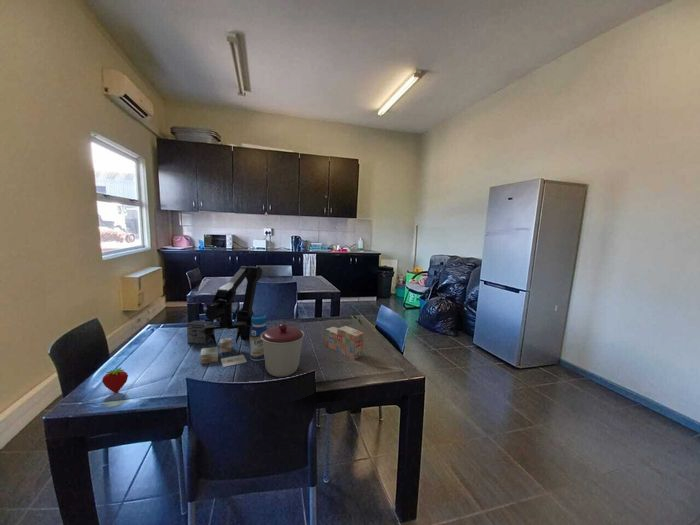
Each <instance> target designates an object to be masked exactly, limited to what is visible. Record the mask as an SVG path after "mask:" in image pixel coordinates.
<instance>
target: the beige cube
mask: <svg viewBox="0 0 700 525" xmlns="http://www.w3.org/2000/svg"><path fill="white" fill-rule="evenodd" d="M232 340H233V339H232V337H229V338H227V337H226V338H220V342H219V343H220V345H219V346H220V347H219V348H220V350H219V351H220V353H221V354H222V353H230V352H232V349H233V348H232V347H233V345H232V344H233V343H232Z"/></svg>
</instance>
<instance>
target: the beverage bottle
mask: <svg viewBox="0 0 700 525" xmlns="http://www.w3.org/2000/svg"><path fill="white" fill-rule="evenodd" d="M251 324H252V326H251V328H250V335H249V338H248V339H249V359H250V360H252V361H255V362H258V361H259V362H260V361H265V359H264V350H263V341H262V339H261V334H262V333H263V332H264V331H266V330H268V329H269V328H268V327H267V315H265V314H260V313H259V314H254V315H253V316H252V317H251Z"/></svg>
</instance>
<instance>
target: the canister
mask: <svg viewBox="0 0 700 525" xmlns="http://www.w3.org/2000/svg"><path fill="white" fill-rule="evenodd" d="M304 337H305V332H304V331H303V330H301V329H299V328H297V327H296V326H291V325H287V324H286V323H281V324H279V325H278V326H273V327H270V328H268V330H266V331H264V332H263V333H262V334H261V339H262V341H263V350H264V366H265V370H266V371H267V373H268V374H269V375H271V376H273V377H277V378H279V377H281V378H282V377H288V376H291V375H293V374H294V373H295V372H296V371H297V370H298V368H299V364H300V360H301V359H300V358H301V351H302V346H303V345H302V344H303V338H304Z"/></svg>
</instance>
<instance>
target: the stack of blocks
mask: <svg viewBox="0 0 700 525" xmlns="http://www.w3.org/2000/svg"><path fill="white" fill-rule="evenodd" d="M324 332H325V333H324V335H325V336H324V338H325V339H324V346H325V345H326V347H327V346H328V347H327V348H329V349H331V350H333V351H335V352H337V351H338V352H337V353H339V352H340V353H339V354H341V353H342V354H341V355H343V354H344V356H345V355H346V356H345V357H347V356H348V357H347V358H349V357H350V358H349V359H351V358H352V360H353V359H355V358H357V359H359V358H360V357H359V356H361V355H362V356H363V349H364V348H363V347H364V346H363V345H364V332H362V331H360V330H359V329H355V328H353V327H350V326H347V325H344V326H342V327H335V326H331V327H328V328H325V331H324ZM362 356H361V357H362ZM358 357H359V358H358ZM355 360H356V359H355Z"/></svg>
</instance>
